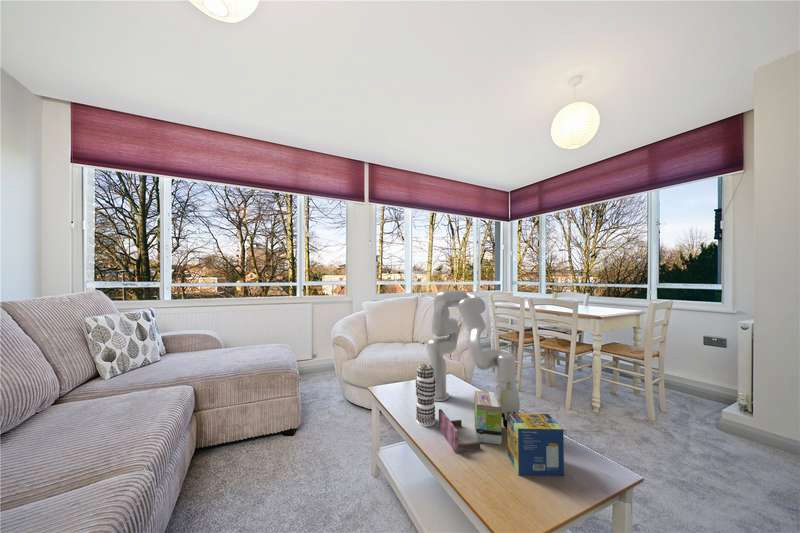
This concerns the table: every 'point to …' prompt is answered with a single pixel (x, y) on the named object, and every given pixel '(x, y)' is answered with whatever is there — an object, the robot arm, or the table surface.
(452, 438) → the stand
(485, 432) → the tea box
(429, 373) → the decorative candle
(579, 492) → the table surface
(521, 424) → the protein box
